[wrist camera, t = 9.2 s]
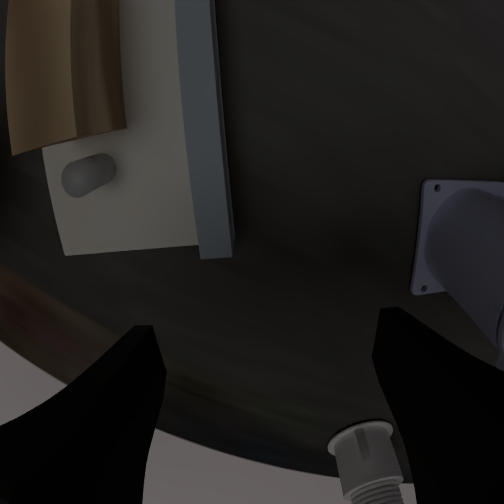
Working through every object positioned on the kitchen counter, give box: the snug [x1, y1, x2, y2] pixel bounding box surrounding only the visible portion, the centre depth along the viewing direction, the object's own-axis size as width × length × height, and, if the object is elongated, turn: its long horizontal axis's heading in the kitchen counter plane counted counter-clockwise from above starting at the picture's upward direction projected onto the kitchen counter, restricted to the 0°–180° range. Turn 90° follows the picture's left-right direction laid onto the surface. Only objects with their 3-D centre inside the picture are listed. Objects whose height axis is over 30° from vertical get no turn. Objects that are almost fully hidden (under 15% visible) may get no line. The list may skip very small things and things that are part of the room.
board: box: [42, 0, 235, 259], centre depth 14 cm, size 11×18×4 cm, turn 4°
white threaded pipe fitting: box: [328, 421, 404, 504], centre depth 23 cm, size 8×7×10 cm
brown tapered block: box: [5, 0, 127, 156], centre depth 11 cm, size 4×8×6 cm, turn 4°
